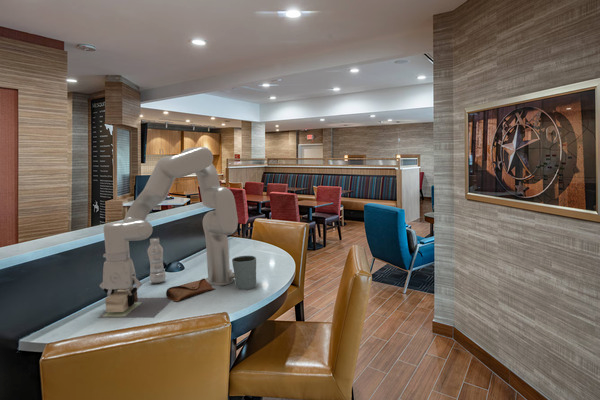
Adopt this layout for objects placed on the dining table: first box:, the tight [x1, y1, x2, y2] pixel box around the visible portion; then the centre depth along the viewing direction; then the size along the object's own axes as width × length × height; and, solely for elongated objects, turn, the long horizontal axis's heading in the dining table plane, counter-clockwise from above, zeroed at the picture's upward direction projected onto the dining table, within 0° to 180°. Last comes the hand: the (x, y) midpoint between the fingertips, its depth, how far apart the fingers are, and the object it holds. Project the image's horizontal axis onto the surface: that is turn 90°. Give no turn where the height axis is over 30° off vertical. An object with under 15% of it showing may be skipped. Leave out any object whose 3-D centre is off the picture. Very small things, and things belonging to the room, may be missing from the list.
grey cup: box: [231, 255, 257, 291], centre depth 149 cm, size 10×10×12 cm
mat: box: [97, 296, 173, 319], centre depth 130 cm, size 20×18×1 cm
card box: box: [104, 289, 139, 312], centre depth 128 cm, size 10×6×5 cm, turn 177°
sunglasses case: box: [165, 278, 215, 302], centre depth 142 cm, size 18×7×7 cm, turn 139°
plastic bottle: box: [147, 237, 167, 284], centre depth 157 cm, size 6×7×20 cm
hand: (122, 304), depth 128 cm, fingers closed on card box, 5 cm apart
